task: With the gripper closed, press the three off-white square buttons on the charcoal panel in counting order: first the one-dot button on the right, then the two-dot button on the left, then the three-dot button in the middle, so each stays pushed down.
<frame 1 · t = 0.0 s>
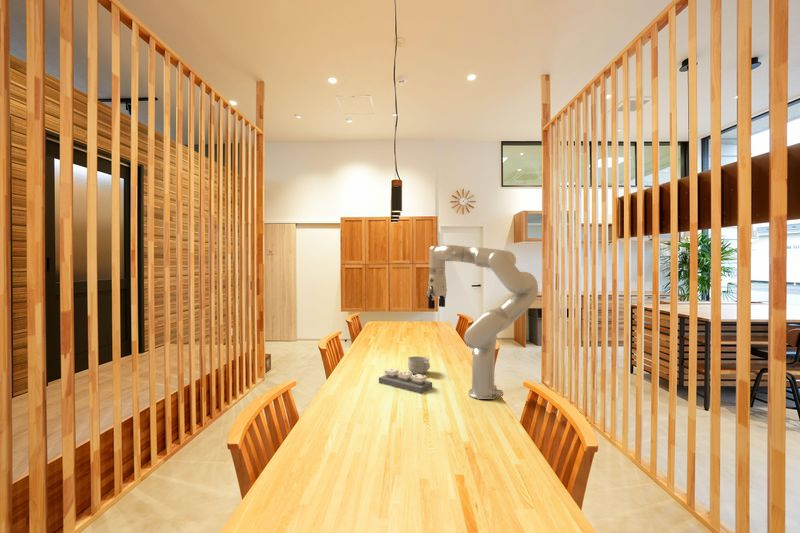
hand: (436, 307, 176), 37 cm above the table, tool pointing down, fingers open, 9 cm apart
button two: (419, 380, 170), point 4 cm above the table, slide at 0.0 cm
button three: (405, 377, 175), point 4 cm above the table, slide at 0.0 cm
button one: (391, 374, 179), point 4 cm above the table, slide at 0.0 cm
button panel: (405, 385, 175), on the table
teacup: (419, 374, 192), on the table
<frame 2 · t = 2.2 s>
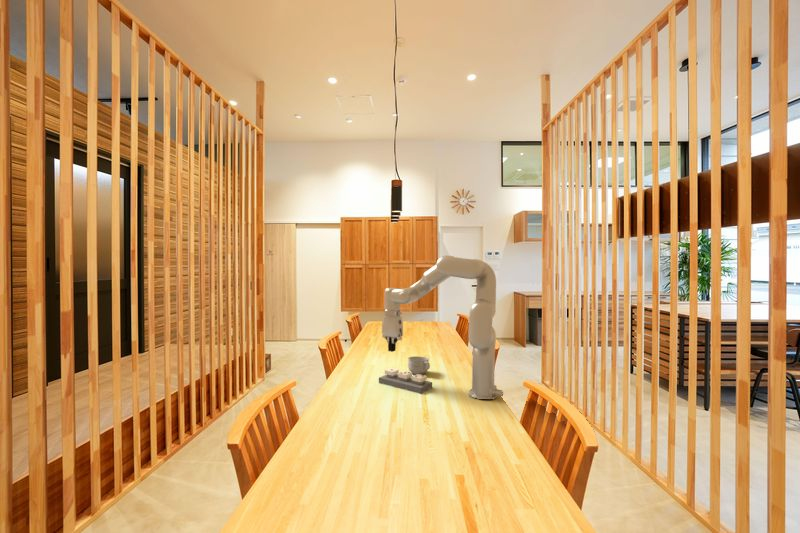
hand: (391, 350, 179), 15 cm above the table, tool pointing down, fingers closed
nothing on the table moved.
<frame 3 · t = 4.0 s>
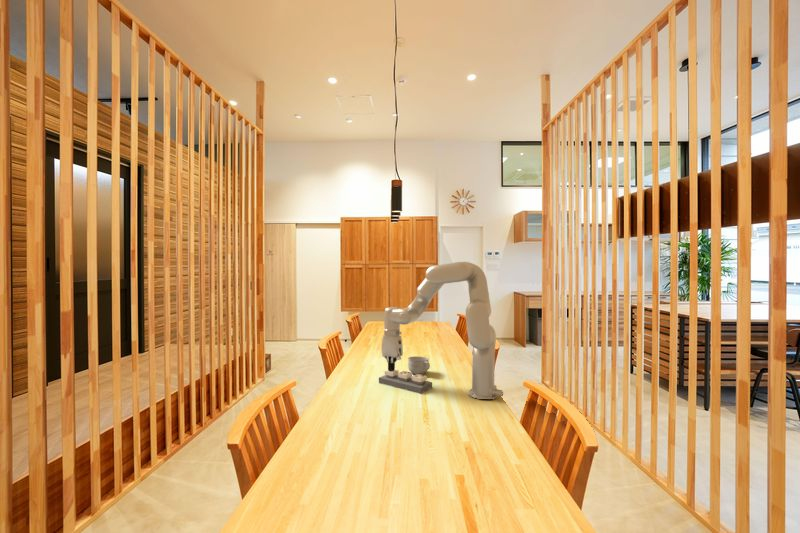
hand: (391, 370, 179), 6 cm above the table, tool pointing down, fingers closed
button one: (391, 374, 179), point 3 cm above the table, slide at 0.3 cm, touching gripper
everything else where it was.
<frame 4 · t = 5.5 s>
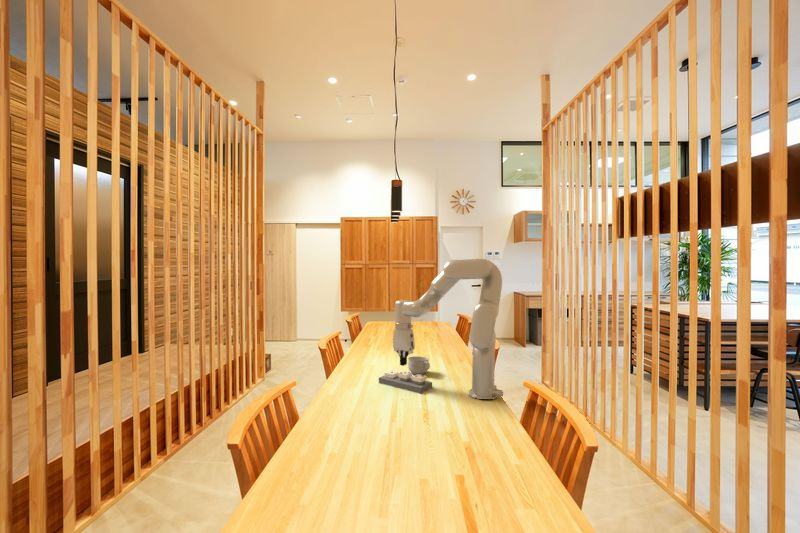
hand: (403, 364, 175), 9 cm above the table, tool pointing down, fingers closed
button one: (391, 376, 179), point 3 cm above the table, slide at 1.2 cm
everything else where it was.
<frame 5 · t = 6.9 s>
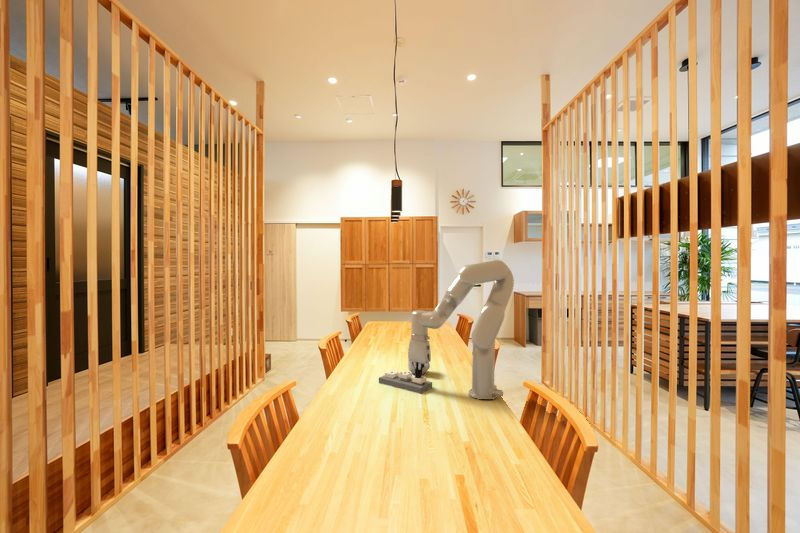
hand: (418, 377, 170), 5 cm above the table, tool pointing down, fingers closed
button two: (419, 381, 170), point 3 cm above the table, slide at 0.6 cm, touching gripper
everything else where it was.
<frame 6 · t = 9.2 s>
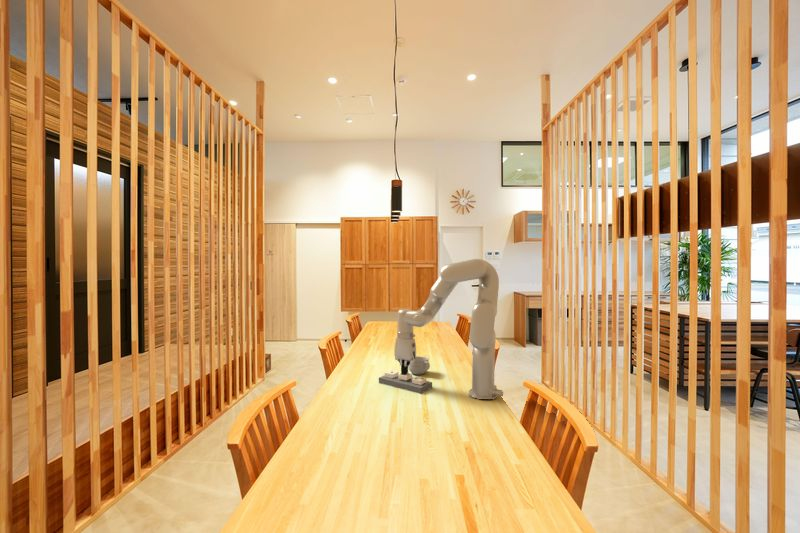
hand: (404, 373, 175), 5 cm above the table, tool pointing down, fingers closed
button two: (419, 383, 170), point 3 cm above the table, slide at 1.2 cm
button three: (405, 378, 175), point 3 cm above the table, slide at 0.6 cm, touching gripper
everything else where it was.
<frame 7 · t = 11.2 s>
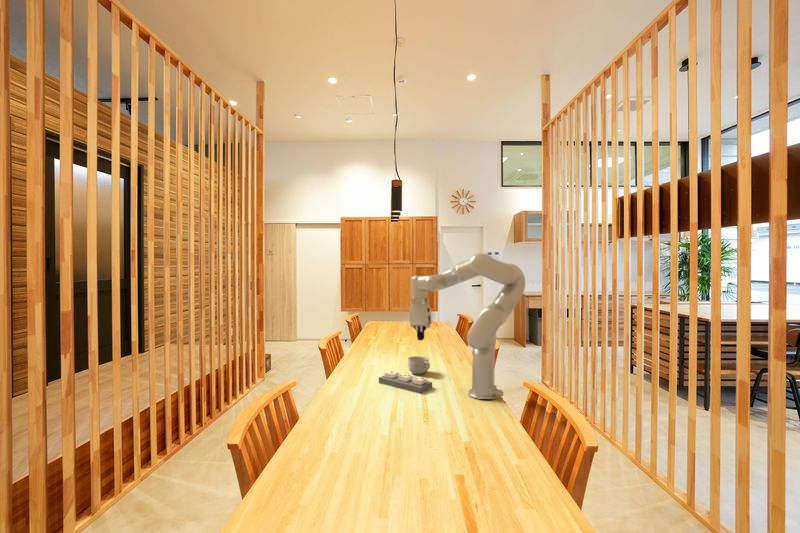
hand: (420, 339, 176), 21 cm above the table, tool pointing down, fingers closed
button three: (405, 379, 175), point 3 cm above the table, slide at 1.2 cm
everything else where it was.
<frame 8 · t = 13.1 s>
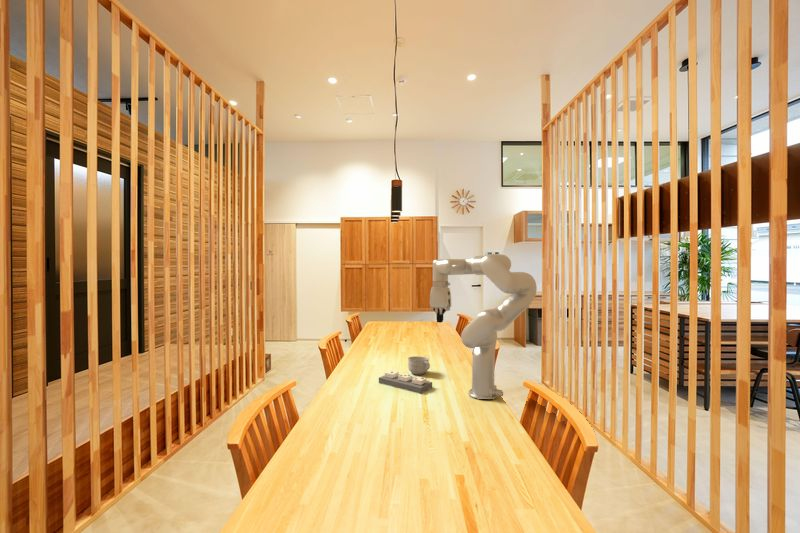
hand: (439, 322, 181), 29 cm above the table, tool pointing down, fingers closed
nothing on the table moved.
at the end: button one slide at 1.2 cm; button two slide at 1.2 cm; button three slide at 1.2 cm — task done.
